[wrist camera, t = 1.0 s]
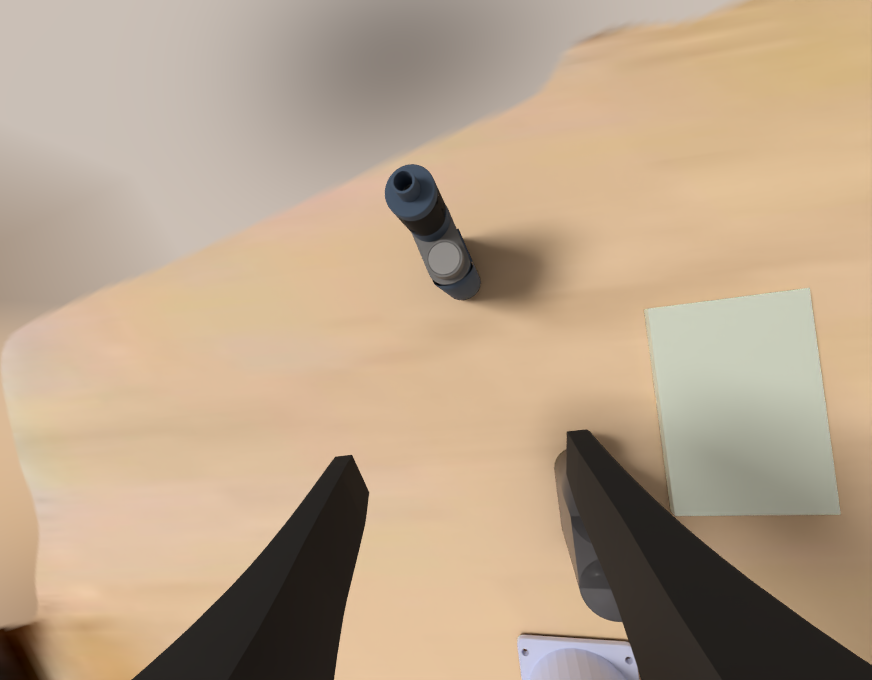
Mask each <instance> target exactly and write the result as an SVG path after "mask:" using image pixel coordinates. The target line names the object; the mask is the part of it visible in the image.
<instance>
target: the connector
mask: <svg viewBox="0 0 872 680" xmlns="http://www.w3.org/2000/svg"><path fill="white" fill-rule="evenodd" d="M566 458H567V449H566V450H564V451H563V452H562V453H561V454H560V455H559V456H558V458H557V459H556V462H555V467H554V470H555V479H556V486H557V494H558V502H559V510H560V518H561V525H562V530H563V533H564V537H565V540H566V544H567V547H568V551H569V554H570V558H571V561H572V565H573V568H574V572H575V575H576V579H577V582H578V586H579V589H580V592H581V595H582V598H583V600H584V602H585V603H586V605H587V606H588V607H589V608H590V609H591V610H592V611H593V612H594V613H596V614H597V615H599V616H600V617H602V618H604V619H607V620H610V621H616V622H622V619H621V616H620V613H619V610H618V607H617V604H616V601H615V599H614V596H613V593H612V591H611V588H610V586H609V583H608V581H607V578H606V576H605V574H604V571H603V569H602V567H601V564H600V562H599V560H598V557H597V555H596V553H595V550H594V548H593V545H592V543H591V541H590V538H589V536H588V534H587V531H586V529H585V526H584V524H583V522H582V519H581V517H580V514H579V512H578V510H577V507H576V504H575V501H574V498H573V495H572V491H571V488H570V485H569V481H568V478H567V475H566Z"/></svg>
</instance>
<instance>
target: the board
mask: <svg viewBox="0 0 872 680" xmlns="http://www.w3.org/2000/svg"><path fill="white" fill-rule="evenodd" d="M644 314H645V321H646V329H647V336H648V344H649V352H650V359H651V367H652V374H653V382H654V389H655V397H656V405H657V412H658V420H659V427H660V435H661V442H662V450H663V458H664V465H665V473H666V480H667V488H668V495H669V503H670V511H671V512H672V513H673V514H674V515H675V516H741V515H841V512H840V505H839V498H838V490H837V483H836V476H835V469H834V461H833V454H832V447H831V440H830V432H829V425H828V418H827V411H826V403H825V396H824V389H823V382H822V374H821V367H820V360H819V353H818V345H817V338H816V331H815V324H814V316H813V309H812V302H811V295H810V288H804V289H797V290H789V291H781V292H774V293H766V294H758V295H750V296H743V297H735V298H727V299H720V300H712V301H704V302H696V303H689V304H681V305H673V306H666V307H658V308H650V309H644Z"/></svg>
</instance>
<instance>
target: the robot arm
mask: <svg viewBox="0 0 872 680" xmlns="http://www.w3.org/2000/svg"><path fill="white" fill-rule="evenodd" d="M566 475H567V478H568V481H569V485H570V488H571V491H572V495H573V498H574V501H575V504H576V507H577V510H578V512H579V514H580V517H581V519H582V522H583V524H584V526H585V529H586V531H587V534H588V536H589V538H590V541H591V543H592V545H593V548H594V550H595V553H596V555H597V557H598V560H599V562H600V564H601V567H602V569H603V571H604V574H605V576H606V578H607V581H608V583H609V586H610V588H611V591H612V593H613V596H614V599H615V601H616V604H617V607H618V610H619V613H620V616H621V619H622V622H623V625H624V628H625V631H626V634H627V637H628V640H629V642H625V641H610V640H596V639H581V638H566V637H551V636H536V635H520V636H518V638H517V646H518V654H519V662H520V670H521V677H522V680H639V674H640V677H641V680H872V665H871V664H869V663H868V662H866V661H865V660H863V659H862V658H860V657H858V656H857V655H856V654H854V653H853V652H851V651H850V650H848V649H847V648H845V647H844V646H842V645H841V644H840V643H838V642H837V641H835V640H834V639H832V638H831V637H829V636H828V635H826V634H825V633H823V632H822V631H821V630H819V629H818V628H816V627H815V626H813V625H812V624H810V623H809V622H808V621H806V620H805V619H804V618H802V617H801V616H799V615H798V614H797V613H795V612H794V611H793V610H791V609H790V608H788V607H787V606H786V605H784V604H783V603H782V602H780V601H779V600H777V599H776V598H775V597H773V596H772V595H771V594H769V593H768V592H766V591H765V590H764V589H762V588H761V587H760V586H758V585H757V584H755V583H754V582H753V581H751V580H750V579H749V578H747V577H746V576H745V575H744V574H742V573H741V572H740V571H739V570H737V569H736V568H735V567H733V566H732V565H731V564H730V563H728V562H727V561H726V560H724V559H723V558H722V557H721V556H719V555H718V554H717V553H716V552H715V551H713V550H712V549H711V548H710V547H708V546H707V545H706V544H705V543H704V542H702V541H701V540H700V539H699V538H698V537H696V536H695V535H694V534H693V533H692V532H691V531H689V530H688V529H687V528H686V527H685V526H684V525H682V524H681V523H680V522H679V521H678V520H677V519H676V518H675V517H673V516H672V515H671V514H670V513H669V512H668V511H667V510H666V509H665V508H664V507H662V506H661V505H660V504H659V503H658V502H657V501H656V500H655V499H654V498H653V497H652V496H651V495H650V494H649V493H648V492H647V491H646V490H645V489H644V488H643V487H641V486H640V485H639V484H638V483H637V482H636V481H635V480H634V479H633V478H632V477H631V476H630V475H629V474H628V473H627V472H626V471H625V470H624V469H623V467H622V466H621V465H620V464H619V463H618V462H617V461H616V460H615V459H614V458H613V457H612V456H611V455H610V454H609V453H608V451H607V450H606V449H605V448H604V447H603V446H602V445H601V444H600V443H599V441H598V440H597V439H596V438H595V437H594V436H593V435H592V433H591V432H590V431H588V430H577V431H568V432H567V458H566ZM368 497H369V491H368V489H367V487H366V484H365V482H364V480H363V478H362V476H361V474H360V471H359V469H358V467H357V465H356V463H355V460H354V458H353V456H352V455H347V456H338V457H335V458H334V459H333V461H332V462H331V463H330V465H329V466H328V467H327V469H326V470H325V471H324V473H323V474H322V475H321V477H320V478H319V480H318V481H317V482H316V484H315V485H314V486H313V488H312V489H311V491H310V492H309V493H308V495H307V496H306V497H305V499H304V500H303V501H302V503H301V504H300V505H299V507H298V508H297V509H296V510H295V512H294V513H293V514H292V516H291V517H290V518H289V520H288V521H287V522H286V523H285V525H284V526H283V527H282V528H281V530H280V531H279V532H278V533H277V535H276V536H275V537H274V538H273V539H272V541H271V542H270V543H269V544H268V546H267V547H266V548H265V549H264V550H263V552H262V553H261V554H260V555H259V556H258V557H257V558H256V560H255V561H254V562H253V563H252V564H251V565H250V566H249V568H248V569H247V570H246V571H245V572H244V573H243V574H242V575H241V576H240V577H239V578H238V579H237V581H236V582H235V583H234V584H233V585H232V586H231V587H230V588H229V589H228V590H227V591H226V592H225V593H224V594H223V595H222V596H221V597H220V598H219V599H218V600H217V601H216V602H215V603H214V604H213V605H212V606H211V607H210V608H209V609H208V610H207V611H206V612H205V613H204V614H203V615H202V616H201V617H200V618H199V619H198V620H197V621H196V622H195V623H194V624H193V625H192V626H191V627H190V628H189V629H188V630H187V631H185V632H184V633H183V634H182V635H181V636H180V637H179V638H178V639H177V640H176V641H175V642H174V643H173V644H171V645H170V646H169V647H168V648H167V649H166V650H165V651H164V652H163V653H161V654H160V655H159V656H158V657H157V658H156V659H155V660H154V661H152V662H151V663H150V664H149V665H148V666H147V667H146V668H145V669H143V670H142V671H141V672H140V673H139V674H138V675H137V676H135V677H134V678H133V679H132V680H334V675H335V667H336V660H337V653H338V647H339V641H340V634H341V628H342V622H343V616H344V611H345V606H346V601H347V597H348V593H349V589H350V585H351V581H352V577H353V572H354V568H355V564H356V560H357V556H358V552H359V548H360V544H361V539H362V535H363V531H364V527H365V521H366V514H367V506H368ZM523 649H527V651H524V650H523ZM626 657H631V658H630V659H626ZM638 671H639V674H638Z"/></svg>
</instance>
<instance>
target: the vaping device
mask: <svg viewBox="0 0 872 680" xmlns="http://www.w3.org/2000/svg"><path fill="white" fill-rule="evenodd" d="M438 194H439V196H438ZM385 199H386V202H387V205H388V207H389V208H390V209H391V211H392V212H393V213H394V214H395V215H396V216H397V217H398V218H399V219H400V220H401V222H402V223H403V224H404V225H405V226H406V227H407V228H408V229H409V230H410V231H411V232H412V235H413V237H414V239H415V242H416V244H417V247H418V249H419V251H420V254H421V256H422V259H423V261H424V263H425V266H426V268H427V270H428V273H429V275H430V277H431V278H432V279H433V282H434V284H435V285H436V286H437V287H439V288H440V289H442V290H443V291H444V292H446V293H447V294H449V295H450V296H451V297H453V298H454V299H457V300H465V299H469V298H471V297H472V296H474V295H475V294H476V293H477V292H478V290H479V288H480V284H481V281H480V277H479V275H478V273H477V270H476V268H475V266H474V263H473V265H472V263H471V262H473V261H472V259H471V256H470V254H469V252H468V250H467V247H466V245H465V243H464V240H463V238H462V236H461V233H460V231H459V229H456V226H455V224H454V222H453V219H452V217H451V215H450V212H449V210H448V208H447V206H446V205H445V203H444V201H443V198H442V196H441V194H440V192H439V190H438V188H437V185H436V183H435V181H434V179H433V177H432V175H431V174H430V172H429V171H428V170H427V169H425V168H424V167H422V166H419V165H414V164H411V165H405V166H402V167H400V168H399V169H397V170H396V171H395V172H394V173H393V174H392V175H391V176H390V178H389V179H388V181H387V184H386V188H385Z"/></svg>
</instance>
